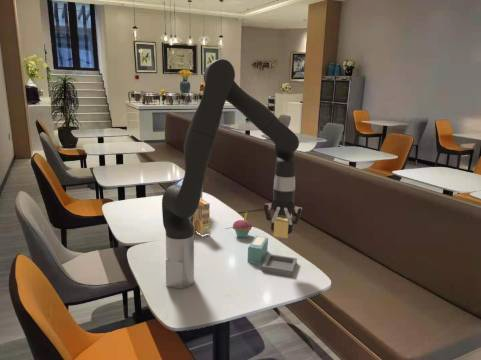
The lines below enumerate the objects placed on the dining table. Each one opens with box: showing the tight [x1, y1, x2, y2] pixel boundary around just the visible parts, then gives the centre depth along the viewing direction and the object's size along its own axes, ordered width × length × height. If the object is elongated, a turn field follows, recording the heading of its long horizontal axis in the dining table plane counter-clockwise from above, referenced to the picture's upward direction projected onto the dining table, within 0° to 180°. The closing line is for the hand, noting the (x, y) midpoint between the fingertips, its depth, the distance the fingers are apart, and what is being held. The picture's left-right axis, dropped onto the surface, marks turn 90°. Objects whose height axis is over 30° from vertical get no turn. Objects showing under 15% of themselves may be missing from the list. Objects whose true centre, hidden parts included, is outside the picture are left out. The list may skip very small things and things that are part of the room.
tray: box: [261, 253, 298, 277], centre depth 140 cm, size 11×11×2 cm
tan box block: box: [273, 216, 290, 239], centre depth 136 cm, size 4×5×6 cm
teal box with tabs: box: [247, 235, 269, 265], centre depth 148 cm, size 12×5×6 cm, turn 163°
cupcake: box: [232, 211, 253, 238], centre depth 167 cm, size 9×8×12 cm
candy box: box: [192, 198, 211, 235], centre depth 168 cm, size 9×4×15 cm, turn 33°
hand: (281, 232), depth 137 cm, fingers closed on tan box block, 5 cm apart
